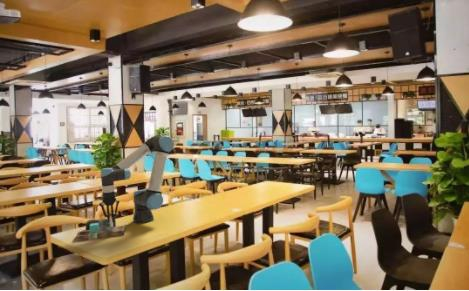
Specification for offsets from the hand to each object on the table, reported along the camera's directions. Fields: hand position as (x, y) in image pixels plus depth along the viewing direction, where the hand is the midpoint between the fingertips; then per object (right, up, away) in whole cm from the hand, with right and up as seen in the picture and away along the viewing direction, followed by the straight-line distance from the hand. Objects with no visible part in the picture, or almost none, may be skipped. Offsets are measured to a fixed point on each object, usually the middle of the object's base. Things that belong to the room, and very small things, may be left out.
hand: (111, 226), depth 236 cm
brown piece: (-6, -5, -2) cm, 8 cm away
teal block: (-10, -3, -3) cm, 11 cm away
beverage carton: (-13, -5, +15) cm, 21 cm away
